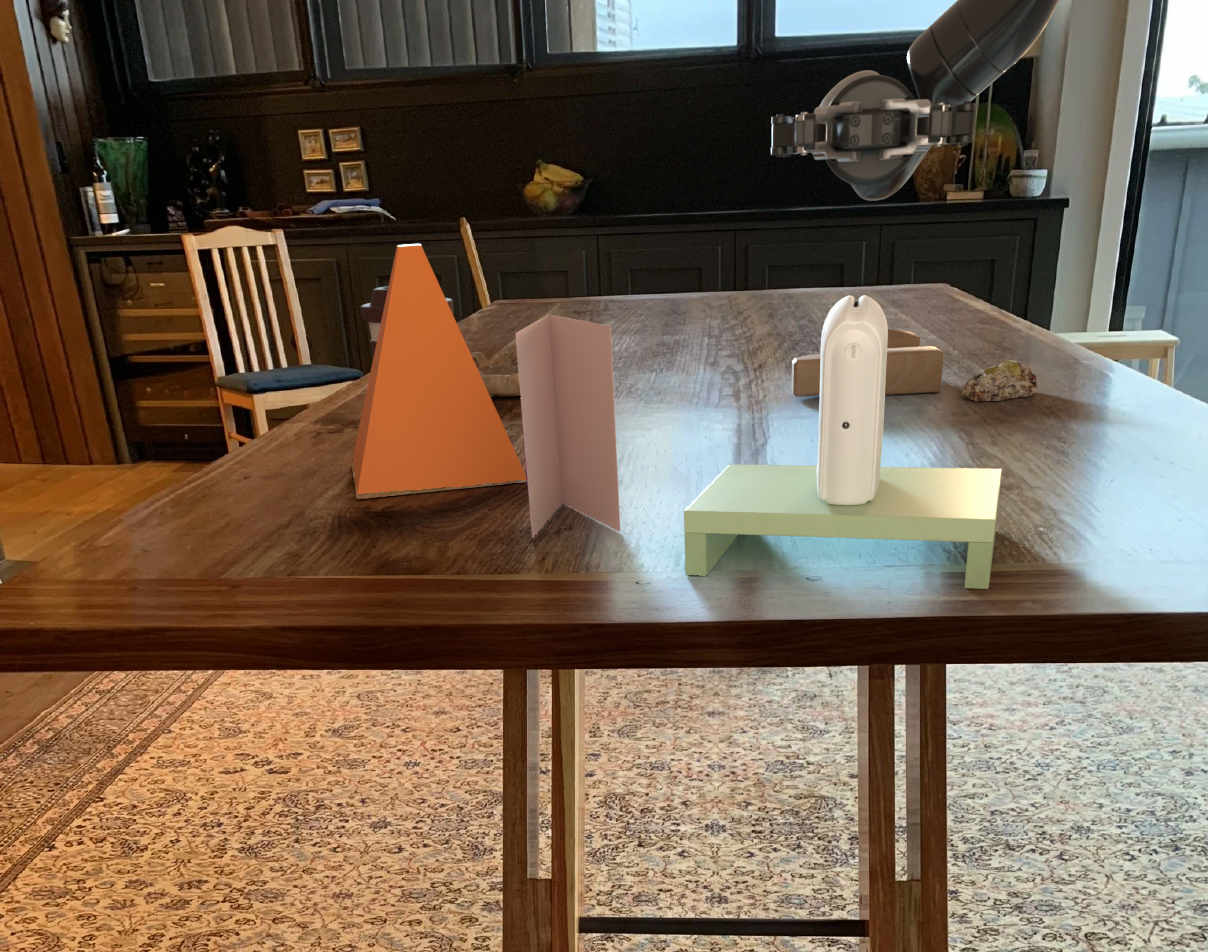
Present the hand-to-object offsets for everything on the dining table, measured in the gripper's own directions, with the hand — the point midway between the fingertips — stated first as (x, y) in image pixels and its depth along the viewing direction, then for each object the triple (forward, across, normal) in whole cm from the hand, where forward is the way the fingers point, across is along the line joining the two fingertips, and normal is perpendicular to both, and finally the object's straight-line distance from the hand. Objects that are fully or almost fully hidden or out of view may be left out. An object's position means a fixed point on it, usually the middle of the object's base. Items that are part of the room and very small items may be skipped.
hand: (871, 127), depth 81 cm
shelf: (+10, +1, -27) cm, 28 cm away
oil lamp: (-60, +44, -26) cm, 79 cm away
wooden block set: (-61, 0, -26) cm, 67 cm away
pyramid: (-16, +40, -27) cm, 50 cm away
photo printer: (+10, +1, -22) cm, 24 cm away
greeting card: (+1, +22, -27) cm, 34 cm away
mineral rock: (-52, -16, -26) cm, 61 cm away
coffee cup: (-38, +48, -26) cm, 67 cm away
